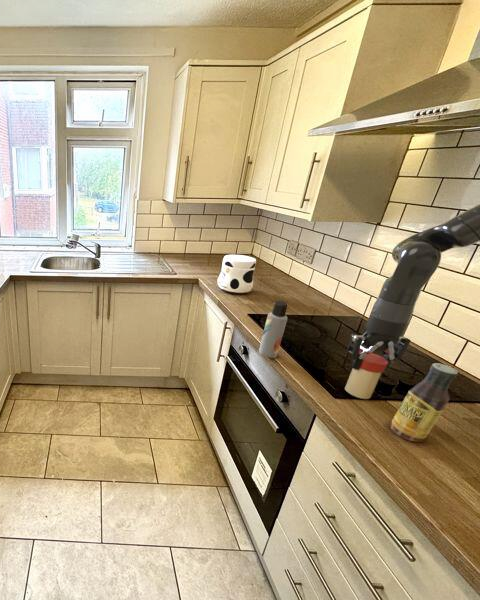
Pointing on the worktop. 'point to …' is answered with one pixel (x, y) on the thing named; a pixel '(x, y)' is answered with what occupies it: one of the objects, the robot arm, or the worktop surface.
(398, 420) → the sauce bottle
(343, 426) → the worktop surface
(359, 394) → the jar
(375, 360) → the jar lid
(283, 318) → the lotion bottle
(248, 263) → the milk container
